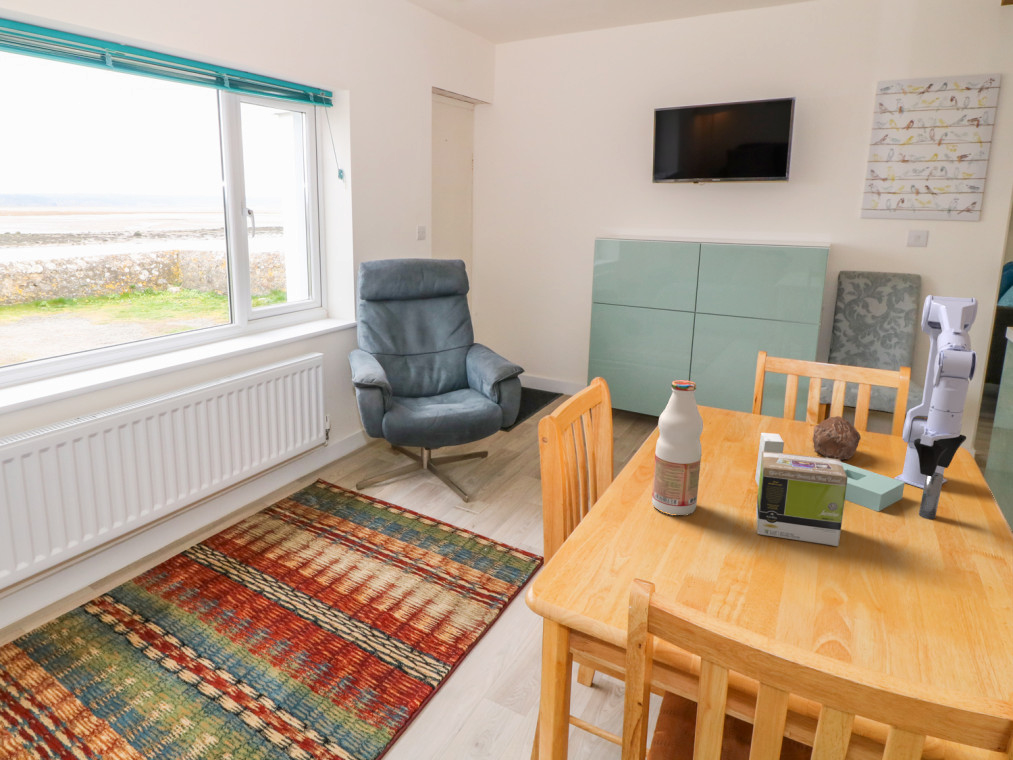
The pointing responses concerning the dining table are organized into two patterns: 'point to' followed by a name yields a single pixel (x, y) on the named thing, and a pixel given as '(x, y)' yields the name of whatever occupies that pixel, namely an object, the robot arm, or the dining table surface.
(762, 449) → the skincare box
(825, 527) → the tea box
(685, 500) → the fruit juice
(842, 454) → the decorative rock
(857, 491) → the hole block
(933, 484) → the metal peg
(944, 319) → the robot arm
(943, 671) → the dining table surface
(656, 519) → the dining table surface
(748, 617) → the dining table surface
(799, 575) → the dining table surface
